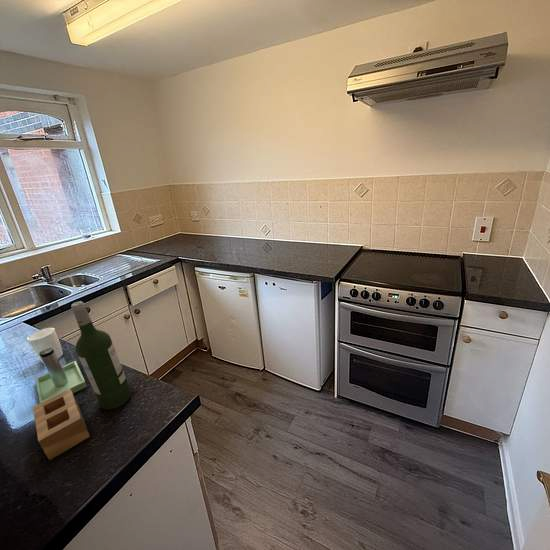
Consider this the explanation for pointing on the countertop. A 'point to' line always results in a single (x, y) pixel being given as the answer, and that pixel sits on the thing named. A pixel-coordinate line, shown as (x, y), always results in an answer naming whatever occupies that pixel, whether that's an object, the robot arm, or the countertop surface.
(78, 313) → the wine bottle
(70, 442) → the holder
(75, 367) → the tray
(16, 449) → the countertop surface
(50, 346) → the white cup
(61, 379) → the canister
